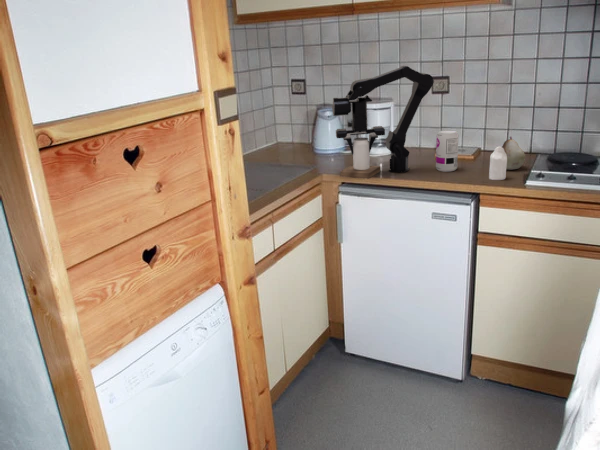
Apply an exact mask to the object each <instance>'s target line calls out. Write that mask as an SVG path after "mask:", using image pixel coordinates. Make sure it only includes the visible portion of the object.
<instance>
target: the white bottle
mask: <svg viewBox="0 0 600 450" xmlns="http://www.w3.org/2000/svg"><path fill="white" fill-rule="evenodd" d="M489 156H490V158H489V171H488V172H489V173H488V179H489V180H492V181H501V180H505V179H506V176H507V175H506V174H507V169H506V166H507V155H506V153H505V151H504V149H503V147H502V146H500V145H499V146H497V147H495V148H494V151H493V152H492V153H491V154H490V155H489Z"/></svg>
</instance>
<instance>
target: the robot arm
mask: <svg viewBox="0 0 600 450" xmlns="http://www.w3.org/2000/svg"><path fill="white" fill-rule="evenodd" d="M403 78H405V79H407V80H409V81H410V82H412V86H411V87H412V88H411V93H410V94H411V95H410V97H409V99H408V102H407V103H406V106H405V108H404V110H403V113H402V114H401V117H400V119H399V121H398V123H397V125H396V127H395V129H394V130H393V131H392V130H389V131H388V134H387V136H386V138H385V139H384V141H385V147H386V149H387V150H388V151H390V154H391V155H390V158H389V171H388V172H390V173H391V172H392V173H407V172H408V171H409V170H410V167H409V155H410V151H409V150H408V149H407V148H406V147H405V144H406V139H407V133H408V130H409V128H410V126H411V124H412V121H413V120H414V117H415V115H416V113H417V110H418V109H419V106H420V105H421V103H422V102H421V101H422V100H423V98H424V97H426V95H427V94H428V93H429V91H430V90H431V88H433V85H434V83H435V80H434V78H433V76H432V74H429V73H423V72H419V71H417V70H415V69H413V68H411V67H409V66H408V65H402V66H400V67H398V68H395V69H393V70H389V71H387V72H385V73H382V74H379V75H377V76H374V77H371V78H370V77H369V78H363V79H357V80H356V79H355V80H354V81H352V82H351V84H350V86H349V87H350V89H349V91H348V92H347V94H346V96H345V97H333V98H332V106H331V110H332V116H333V117H338V116H349V114H350V113H351V118H347V120H346V123H347V124H346V125H347V128H337V129H336V130H335V136H336V139H343V141H346V142H347V144H348V147H349V149H350V152H351V155H352V156H353V141H352V137H351V136H358V135H368V141H369V152H370V153H371V150H372V148H373V144H374V142H375V141H376V139H378V138H379V137H380V136H385V135H386V129H385V127H383V126H382V125H378V126H372V128H368V106H367V105H368V103H371V102H373V100H372V98H370V96H369V95H368V94H369V93H371V92H373V91H374V90H375V89H377V88H379V87H381V86H385V85H388V84H389V83H393V82H396V81H398V80H401V79H403ZM348 128H349V129H350V128H351V130H347V129H348Z"/></svg>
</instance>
